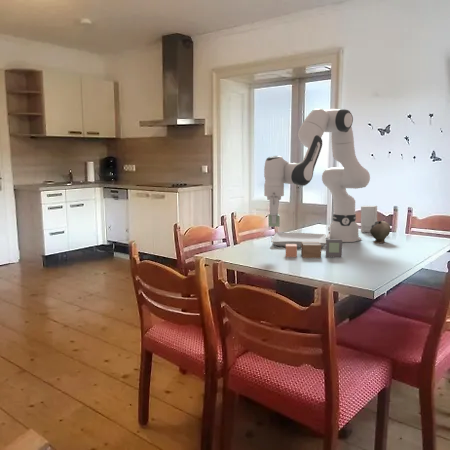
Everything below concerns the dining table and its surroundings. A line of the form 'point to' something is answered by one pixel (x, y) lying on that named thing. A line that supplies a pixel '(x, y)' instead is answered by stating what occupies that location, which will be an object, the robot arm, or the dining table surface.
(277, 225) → the sage green cube
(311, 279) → the dining table surface
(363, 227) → the skincare box
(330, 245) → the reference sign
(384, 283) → the dining table surface
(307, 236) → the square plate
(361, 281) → the dining table surface
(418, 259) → the dining table surface
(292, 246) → the terracotta cube
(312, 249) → the walnut block
